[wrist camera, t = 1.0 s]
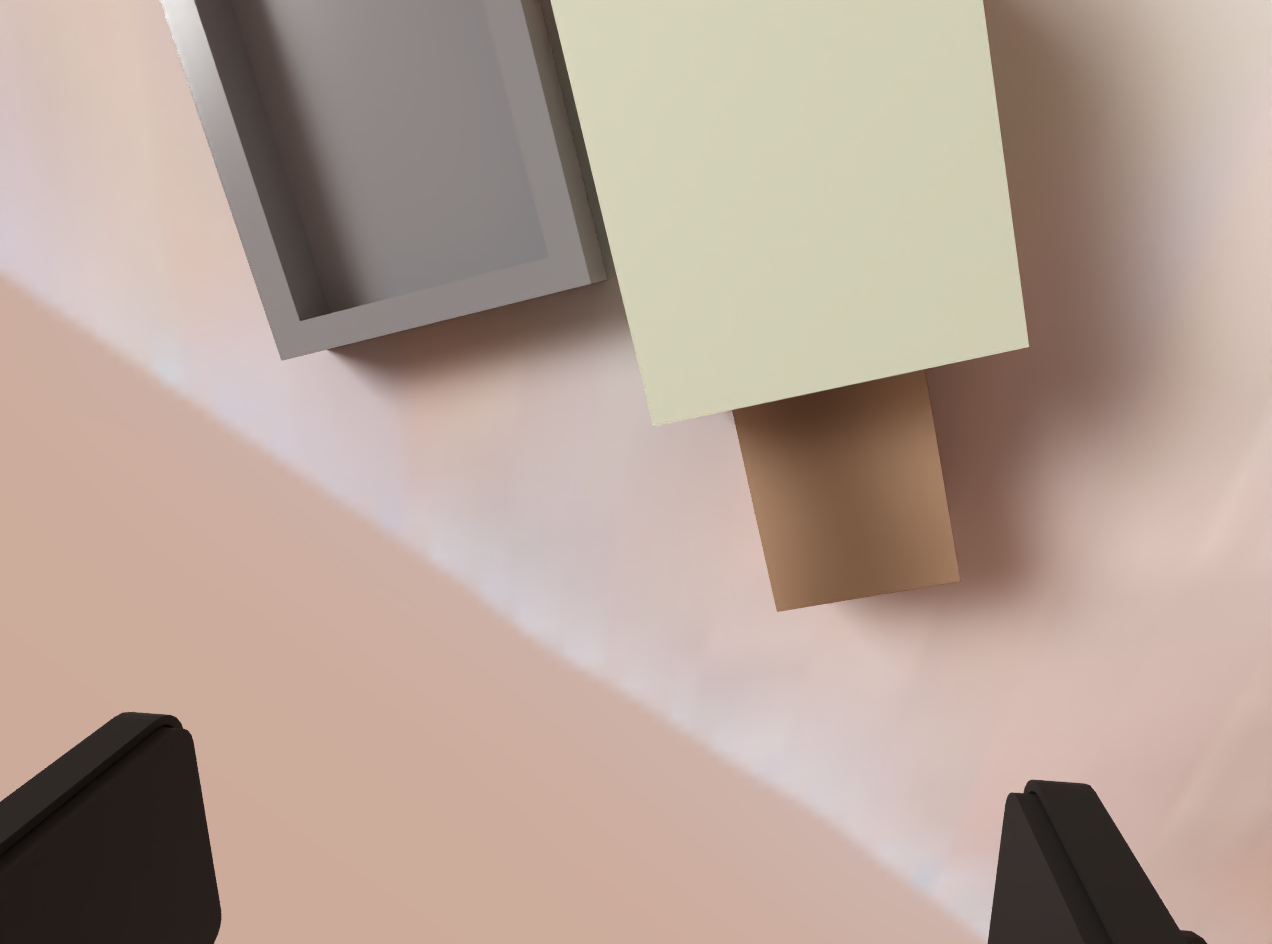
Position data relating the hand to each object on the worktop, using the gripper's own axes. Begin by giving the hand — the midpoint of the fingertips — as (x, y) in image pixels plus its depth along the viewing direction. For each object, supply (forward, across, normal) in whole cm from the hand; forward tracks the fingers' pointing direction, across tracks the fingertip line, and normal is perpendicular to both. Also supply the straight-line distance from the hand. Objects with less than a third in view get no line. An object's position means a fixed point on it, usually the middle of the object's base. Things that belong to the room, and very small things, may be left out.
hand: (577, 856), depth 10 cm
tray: (+19, +10, -12) cm, 24 cm away
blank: (+19, -4, -2) cm, 20 cm away
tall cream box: (+19, -2, -9) cm, 21 cm away
